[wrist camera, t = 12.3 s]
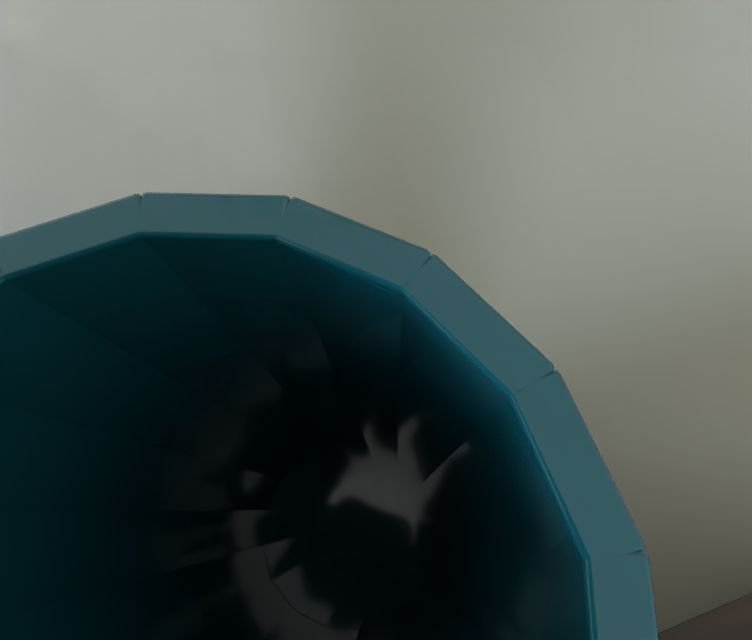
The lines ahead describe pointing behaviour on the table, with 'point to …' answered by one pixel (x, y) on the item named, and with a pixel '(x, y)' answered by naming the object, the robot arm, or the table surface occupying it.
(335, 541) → the tumbler
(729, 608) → the glass rack
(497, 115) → the table surface
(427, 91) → the table surface
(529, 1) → the table surface
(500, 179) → the table surface
